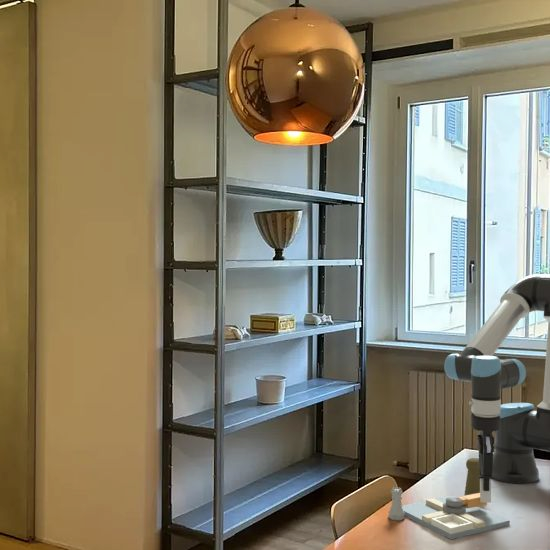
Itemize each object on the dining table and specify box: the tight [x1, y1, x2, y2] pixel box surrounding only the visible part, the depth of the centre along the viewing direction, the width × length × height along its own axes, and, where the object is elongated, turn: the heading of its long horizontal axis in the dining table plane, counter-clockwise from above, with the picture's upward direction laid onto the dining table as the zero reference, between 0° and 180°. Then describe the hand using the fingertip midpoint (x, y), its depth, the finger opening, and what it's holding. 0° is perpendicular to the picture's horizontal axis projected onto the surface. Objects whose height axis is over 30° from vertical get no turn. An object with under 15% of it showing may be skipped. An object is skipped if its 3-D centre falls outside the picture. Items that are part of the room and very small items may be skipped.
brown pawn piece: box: [463, 457, 480, 496], centre depth 212 cm, size 6×6×11 cm
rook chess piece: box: [387, 486, 406, 522], centre depth 194 cm, size 4×4×8 cm
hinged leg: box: [446, 493, 488, 508], centre depth 195 cm, size 12×4×2 cm, turn 116°
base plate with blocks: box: [402, 495, 510, 540], centre depth 195 cm, size 20×22×4 cm
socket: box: [431, 514, 473, 534], centre depth 185 cm, size 7×7×2 cm
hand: (485, 501), depth 195 cm, fingers closed
